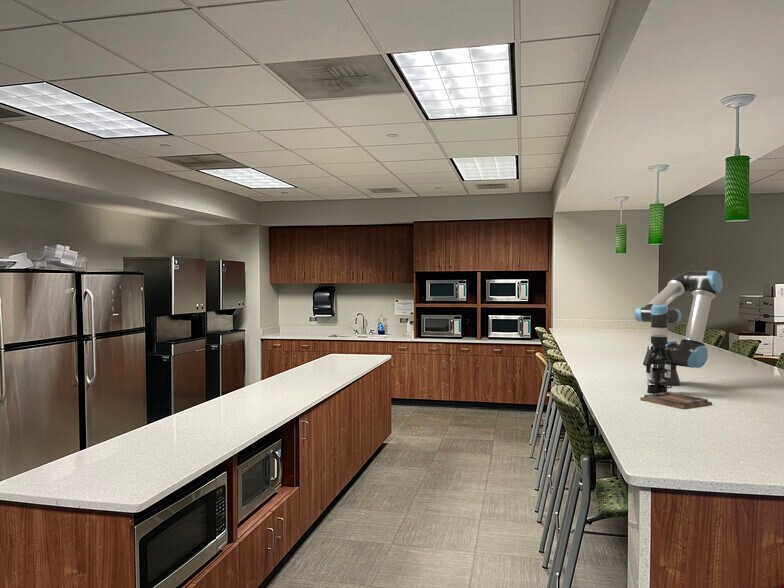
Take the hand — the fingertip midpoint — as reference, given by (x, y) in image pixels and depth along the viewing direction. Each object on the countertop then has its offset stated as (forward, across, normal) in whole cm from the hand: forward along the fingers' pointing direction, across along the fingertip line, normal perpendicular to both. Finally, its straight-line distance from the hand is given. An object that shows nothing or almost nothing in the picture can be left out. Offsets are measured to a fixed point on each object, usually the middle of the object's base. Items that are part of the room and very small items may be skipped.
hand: (658, 378), depth 288 cm
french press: (+7, 0, 0) cm, 7 cm away
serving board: (+7, +13, +19) cm, 24 cm away
